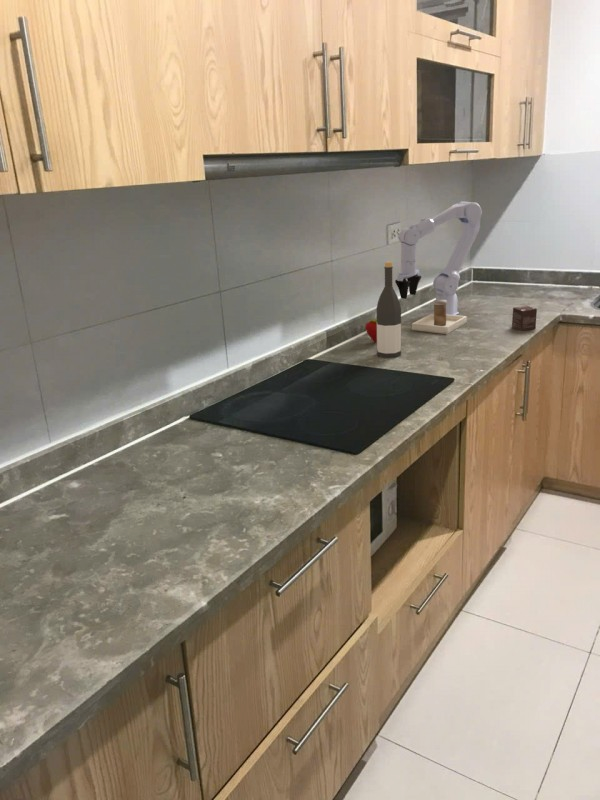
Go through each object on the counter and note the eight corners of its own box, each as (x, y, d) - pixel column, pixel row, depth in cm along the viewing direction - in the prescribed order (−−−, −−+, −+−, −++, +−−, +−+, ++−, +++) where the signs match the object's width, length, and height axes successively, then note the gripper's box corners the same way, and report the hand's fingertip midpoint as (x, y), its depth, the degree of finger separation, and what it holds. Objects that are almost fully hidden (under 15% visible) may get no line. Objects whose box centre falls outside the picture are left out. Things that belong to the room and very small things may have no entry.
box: (525, 325, 236) (526, 305, 234) (536, 328, 231) (537, 308, 228) (511, 327, 234) (512, 307, 232) (521, 330, 229) (522, 310, 226)
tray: (432, 319, 251) (432, 313, 250) (466, 322, 244) (467, 316, 243) (411, 330, 238) (411, 323, 237) (447, 334, 230) (447, 327, 229)
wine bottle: (372, 353, 213) (370, 261, 202) (393, 349, 215) (393, 259, 205) (383, 359, 206) (383, 265, 195) (405, 355, 208) (406, 262, 198)
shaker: (439, 322, 243) (439, 299, 240) (448, 324, 240) (449, 300, 237) (431, 325, 241) (431, 301, 238) (440, 327, 237) (440, 302, 234)
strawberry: (371, 339, 229) (370, 311, 226) (389, 341, 225) (389, 313, 221) (362, 343, 225) (361, 315, 222) (380, 345, 221) (380, 317, 217)
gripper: (407, 257, 252) (407, 292, 256) (390, 263, 241) (390, 299, 245) (424, 258, 248) (423, 293, 252) (407, 264, 237) (406, 300, 242)
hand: (408, 296), depth 249 cm, fingers open, 7 cm apart
